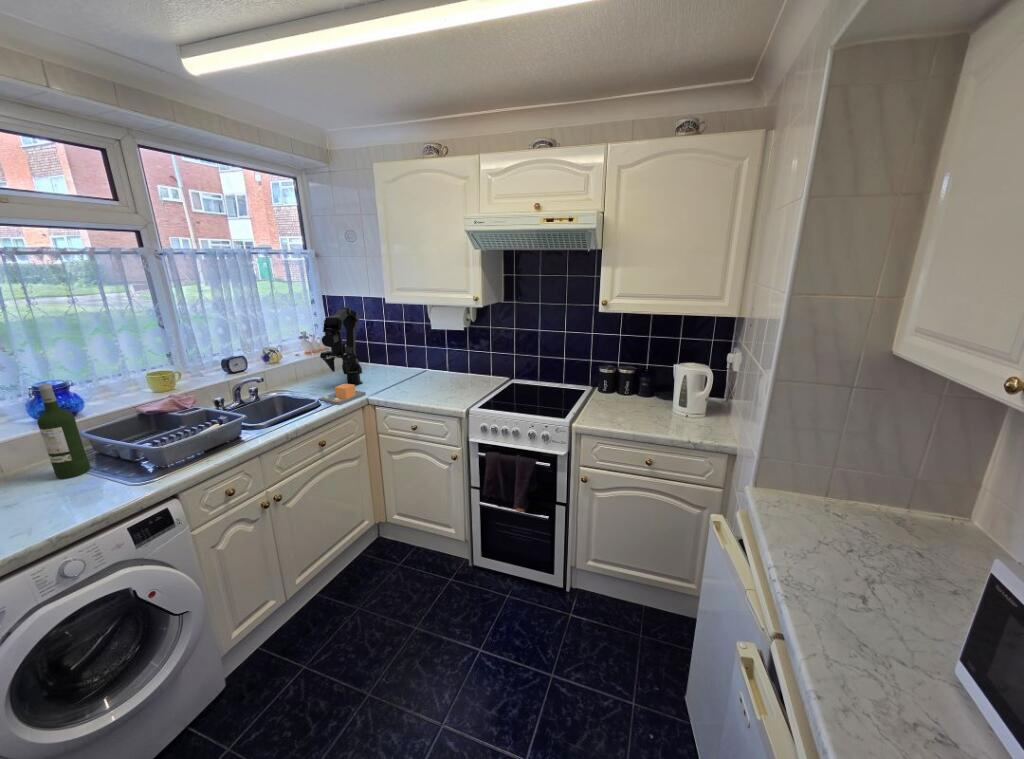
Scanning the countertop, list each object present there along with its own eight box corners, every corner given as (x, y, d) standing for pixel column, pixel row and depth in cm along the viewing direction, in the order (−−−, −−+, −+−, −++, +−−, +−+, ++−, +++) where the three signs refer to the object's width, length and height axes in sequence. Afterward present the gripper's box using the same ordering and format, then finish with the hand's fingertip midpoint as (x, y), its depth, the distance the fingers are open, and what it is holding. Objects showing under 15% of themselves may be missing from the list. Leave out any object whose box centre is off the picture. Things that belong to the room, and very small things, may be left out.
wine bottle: (49, 480, 130) (16, 389, 122) (69, 468, 137) (40, 382, 129) (78, 477, 131) (48, 387, 123) (97, 466, 139) (70, 380, 131)
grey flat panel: (344, 391, 216) (344, 387, 215) (365, 394, 211) (365, 390, 210) (318, 401, 201) (317, 396, 201) (340, 405, 196) (339, 400, 195)
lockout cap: (345, 394, 207) (344, 383, 206) (355, 395, 205) (354, 384, 204) (336, 398, 202) (334, 387, 200) (346, 399, 199) (345, 388, 198)
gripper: (362, 340, 209) (366, 370, 213) (334, 337, 215) (338, 366, 220) (346, 344, 199) (350, 375, 203) (317, 342, 206) (322, 372, 210)
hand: (340, 372), depth 210 cm, fingers open, 9 cm apart
